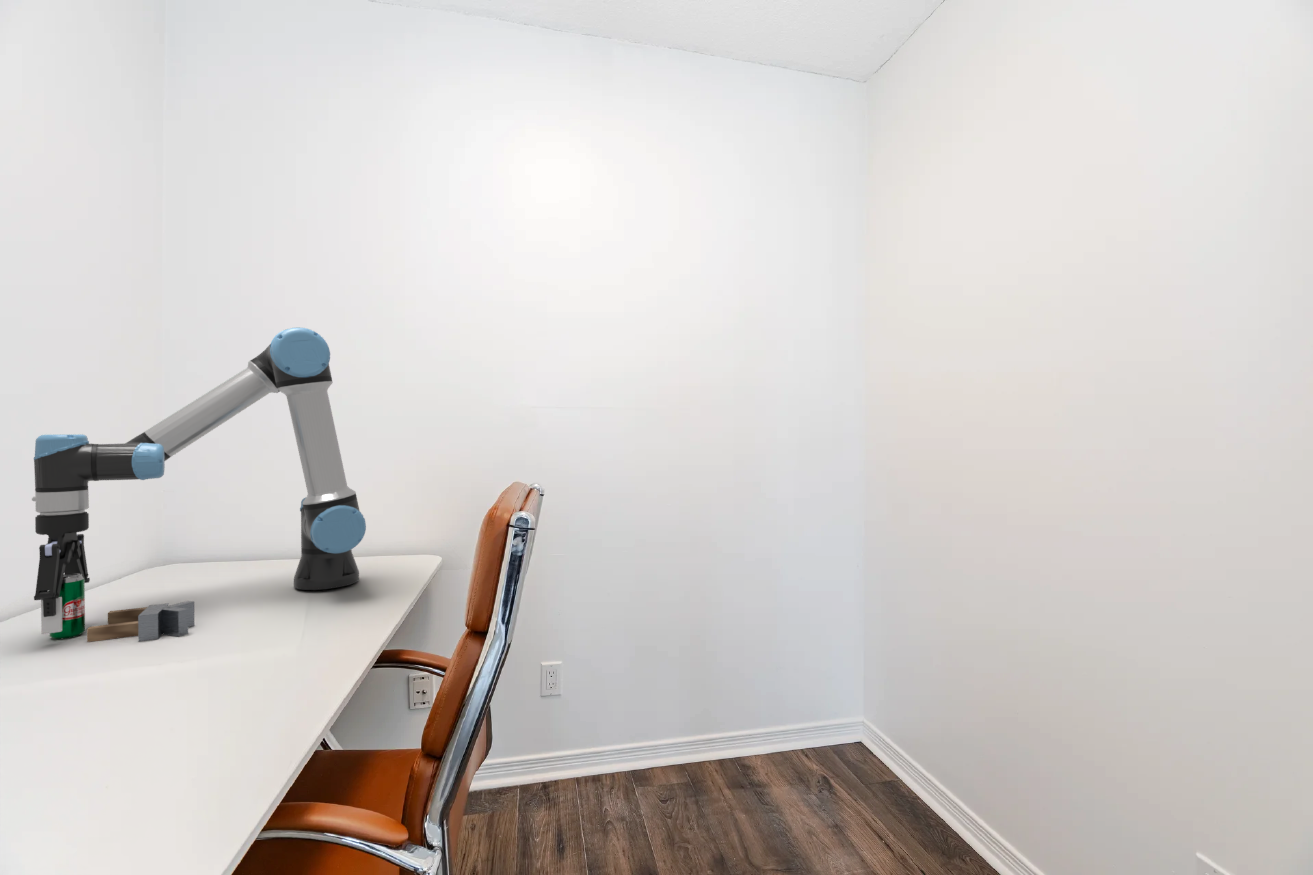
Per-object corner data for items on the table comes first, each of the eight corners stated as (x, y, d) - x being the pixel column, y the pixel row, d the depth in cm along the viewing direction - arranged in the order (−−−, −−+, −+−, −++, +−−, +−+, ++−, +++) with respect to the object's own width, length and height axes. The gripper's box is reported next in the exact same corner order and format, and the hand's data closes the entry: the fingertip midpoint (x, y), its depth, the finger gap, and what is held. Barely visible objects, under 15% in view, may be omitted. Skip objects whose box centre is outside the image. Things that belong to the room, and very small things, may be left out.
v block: (195, 623, 127) (195, 600, 127) (186, 635, 119) (186, 610, 119) (150, 629, 123) (150, 604, 123) (138, 641, 116) (137, 615, 116)
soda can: (64, 640, 117) (63, 579, 117) (42, 639, 117) (41, 578, 117) (92, 632, 122) (91, 572, 122) (70, 631, 122) (70, 572, 122)
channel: (158, 617, 131) (158, 605, 131) (140, 635, 120) (140, 622, 120) (110, 622, 128) (110, 610, 128) (87, 641, 116) (87, 628, 116)
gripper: (60, 507, 128) (62, 611, 128) (7, 521, 107) (9, 645, 107) (107, 505, 131) (108, 606, 131) (64, 518, 111) (65, 638, 111)
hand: (63, 624), depth 119 cm, fingers open, 10 cm apart
